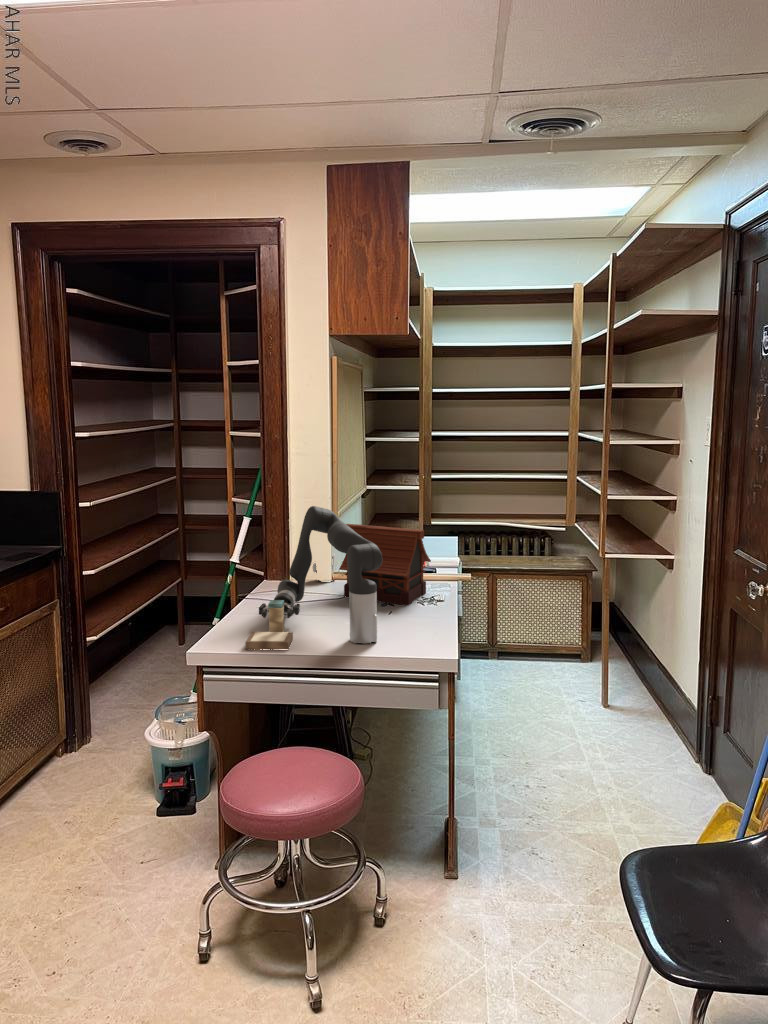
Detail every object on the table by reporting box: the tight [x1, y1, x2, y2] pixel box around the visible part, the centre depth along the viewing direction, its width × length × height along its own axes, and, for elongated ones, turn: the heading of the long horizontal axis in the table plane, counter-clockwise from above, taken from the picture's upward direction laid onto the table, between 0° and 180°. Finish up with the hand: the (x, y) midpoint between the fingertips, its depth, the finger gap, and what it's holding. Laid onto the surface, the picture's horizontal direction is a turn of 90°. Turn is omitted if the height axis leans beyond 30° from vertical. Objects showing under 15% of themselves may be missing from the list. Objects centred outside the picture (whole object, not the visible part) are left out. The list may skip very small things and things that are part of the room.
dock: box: [245, 631, 294, 651], centre depth 242 cm, size 14×10×3 cm
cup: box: [312, 553, 336, 574], centre depth 326 cm, size 10×9×12 cm
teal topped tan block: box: [267, 599, 285, 632], centre depth 255 cm, size 5×5×11 cm
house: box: [338, 523, 432, 606], centre depth 301 cm, size 35×28×29 cm
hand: (276, 615), depth 254 cm, fingers open, 8 cm apart
